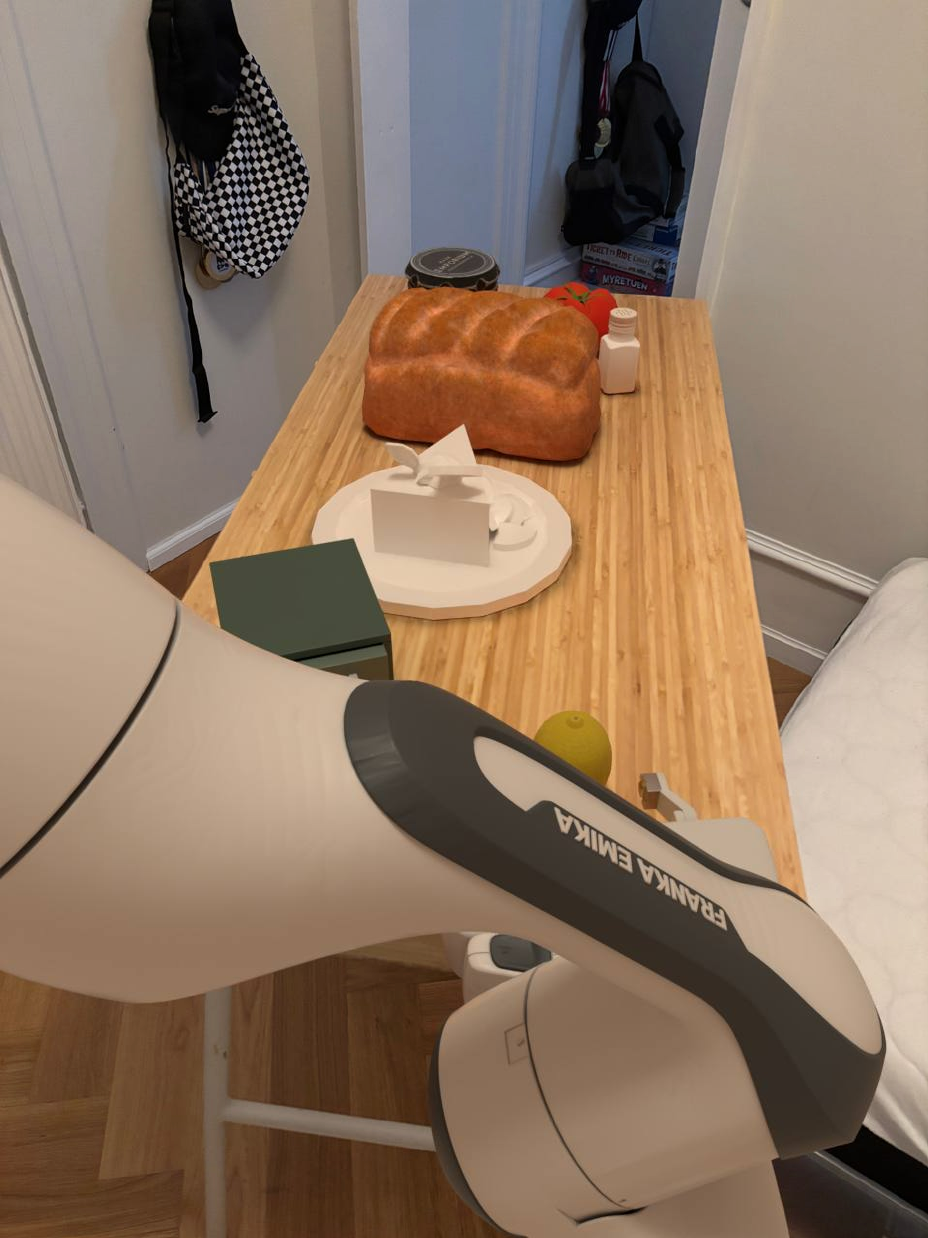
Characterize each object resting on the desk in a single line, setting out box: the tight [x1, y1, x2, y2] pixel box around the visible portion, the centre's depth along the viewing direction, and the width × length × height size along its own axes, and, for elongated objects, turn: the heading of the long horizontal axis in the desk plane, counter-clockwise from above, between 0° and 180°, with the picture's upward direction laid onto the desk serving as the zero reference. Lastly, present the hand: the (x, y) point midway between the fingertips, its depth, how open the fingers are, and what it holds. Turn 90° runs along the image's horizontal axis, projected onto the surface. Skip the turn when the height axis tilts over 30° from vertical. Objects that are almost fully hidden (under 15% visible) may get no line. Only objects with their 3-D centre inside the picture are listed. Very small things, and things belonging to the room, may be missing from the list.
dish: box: [310, 424, 573, 621], centre depth 87 cm, size 25×25×11 cm
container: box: [404, 246, 502, 292], centre depth 126 cm, size 13×13×10 cm
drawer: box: [291, 644, 389, 681], centre depth 69 cm, size 16×10×7 cm, turn 18°
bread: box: [361, 287, 602, 462], centre depth 103 cm, size 14×26×16 cm, turn 74°
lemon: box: [533, 710, 613, 787], centre depth 63 cm, size 6×6×8 cm
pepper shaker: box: [598, 307, 641, 395], centre depth 113 cm, size 4×4×10 cm
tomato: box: [542, 281, 619, 351], centre depth 123 cm, size 11×11×8 cm
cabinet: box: [208, 538, 395, 680], centre depth 72 cm, size 12×11×9 cm
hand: (578, 783), depth 61 cm, fingers open, 8 cm apart
